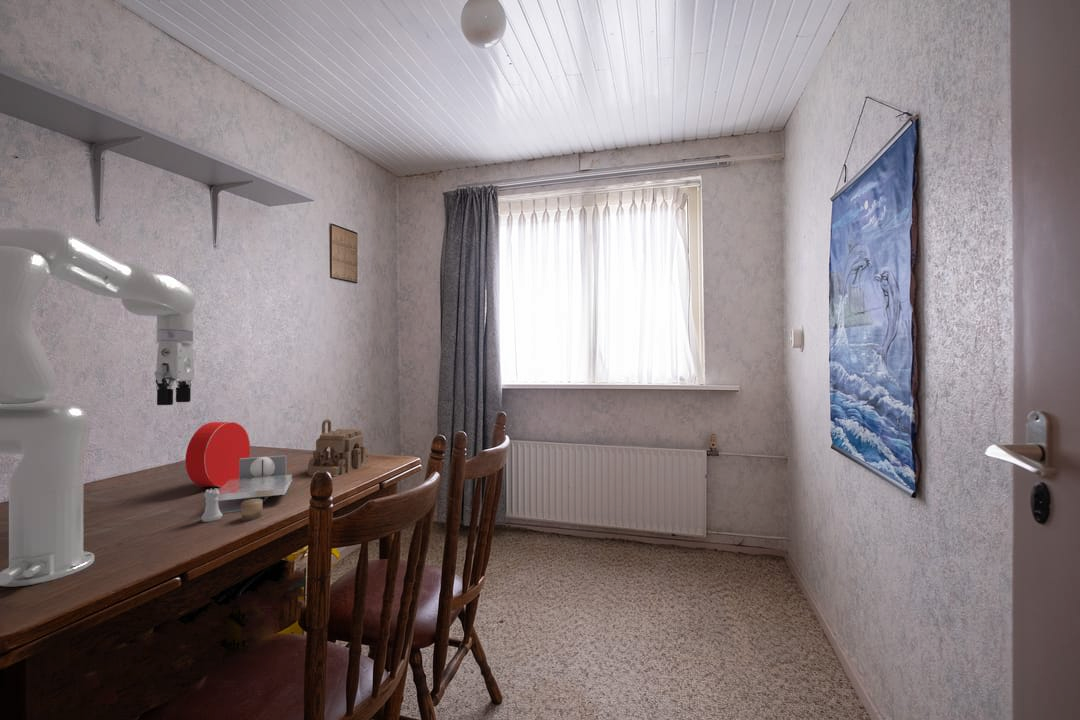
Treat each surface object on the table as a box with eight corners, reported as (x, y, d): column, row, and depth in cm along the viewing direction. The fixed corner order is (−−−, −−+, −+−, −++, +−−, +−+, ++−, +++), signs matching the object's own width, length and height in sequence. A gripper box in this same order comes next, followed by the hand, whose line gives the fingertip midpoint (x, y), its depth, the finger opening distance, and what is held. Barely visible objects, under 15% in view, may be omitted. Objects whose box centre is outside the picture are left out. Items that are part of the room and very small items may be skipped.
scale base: (292, 509, 123) (292, 468, 123) (202, 518, 115) (202, 475, 115) (300, 488, 142) (300, 453, 142) (224, 495, 135) (224, 458, 135)
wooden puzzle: (342, 481, 151) (342, 424, 151) (300, 479, 153) (300, 423, 153) (373, 465, 173) (373, 416, 173) (337, 464, 175) (337, 415, 175)
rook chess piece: (211, 526, 110) (211, 492, 110) (195, 525, 111) (195, 491, 111) (227, 520, 114) (227, 487, 114) (212, 518, 115) (212, 486, 115)
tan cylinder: (260, 523, 112) (260, 503, 112) (239, 526, 110) (239, 505, 110) (263, 517, 116) (264, 498, 116) (243, 520, 114) (243, 499, 114)
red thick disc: (233, 477, 155) (233, 418, 155) (250, 477, 155) (250, 418, 155) (185, 494, 135) (185, 426, 135) (204, 495, 135) (204, 427, 135)
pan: (284, 504, 124) (284, 488, 124) (213, 511, 118) (213, 494, 118) (292, 488, 139) (292, 474, 139) (229, 494, 133) (229, 479, 133)
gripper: (176, 336, 113) (175, 406, 113) (205, 340, 130) (205, 400, 130) (139, 335, 111) (138, 406, 111) (174, 339, 128) (173, 401, 127)
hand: (174, 403), depth 120 cm, fingers open, 9 cm apart
